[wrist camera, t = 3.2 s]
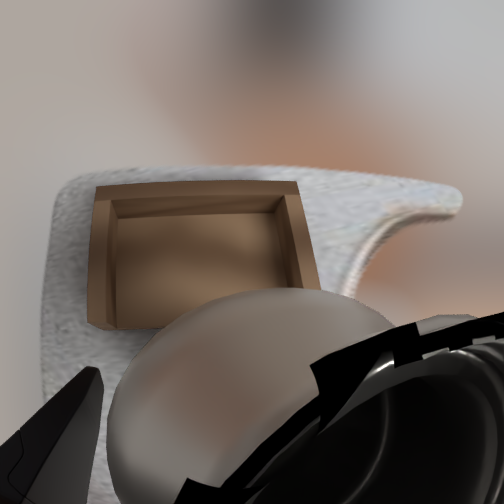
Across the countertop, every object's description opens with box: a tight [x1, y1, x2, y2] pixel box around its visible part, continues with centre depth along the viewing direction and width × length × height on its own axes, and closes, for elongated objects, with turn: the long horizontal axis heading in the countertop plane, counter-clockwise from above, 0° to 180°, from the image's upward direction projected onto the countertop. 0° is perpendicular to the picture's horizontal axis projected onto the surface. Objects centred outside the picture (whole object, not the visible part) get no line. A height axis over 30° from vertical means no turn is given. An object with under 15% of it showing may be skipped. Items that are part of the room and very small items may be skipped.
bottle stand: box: [87, 180, 321, 330], centre depth 19 cm, size 9×14×4 cm, turn 98°
